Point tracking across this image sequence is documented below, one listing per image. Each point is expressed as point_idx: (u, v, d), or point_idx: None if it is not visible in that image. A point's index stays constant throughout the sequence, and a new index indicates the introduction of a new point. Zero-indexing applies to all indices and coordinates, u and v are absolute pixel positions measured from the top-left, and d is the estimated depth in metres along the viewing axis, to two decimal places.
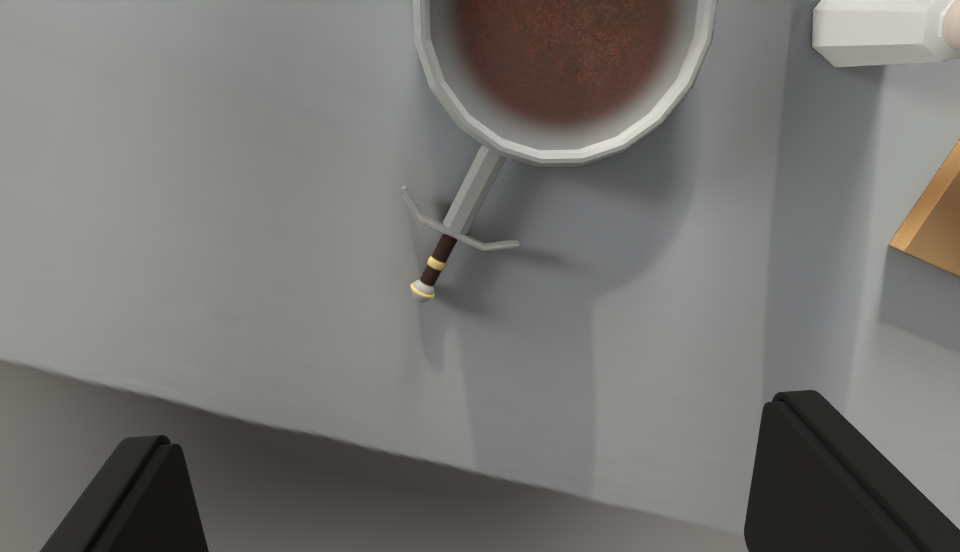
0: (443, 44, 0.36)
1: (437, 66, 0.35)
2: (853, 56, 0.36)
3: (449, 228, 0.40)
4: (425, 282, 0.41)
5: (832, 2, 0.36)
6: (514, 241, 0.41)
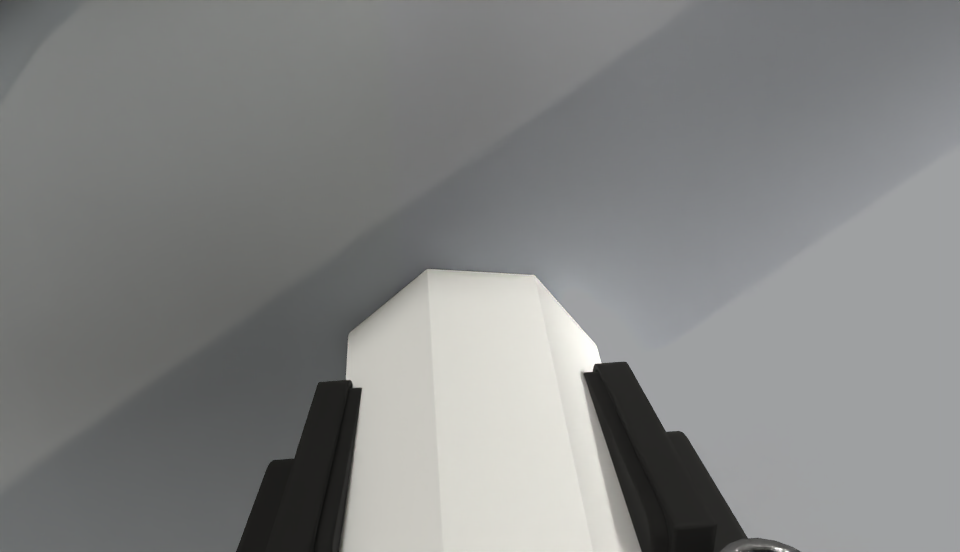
0: None
1: None
2: None
3: None
4: None
5: (456, 301, 0.11)
6: None
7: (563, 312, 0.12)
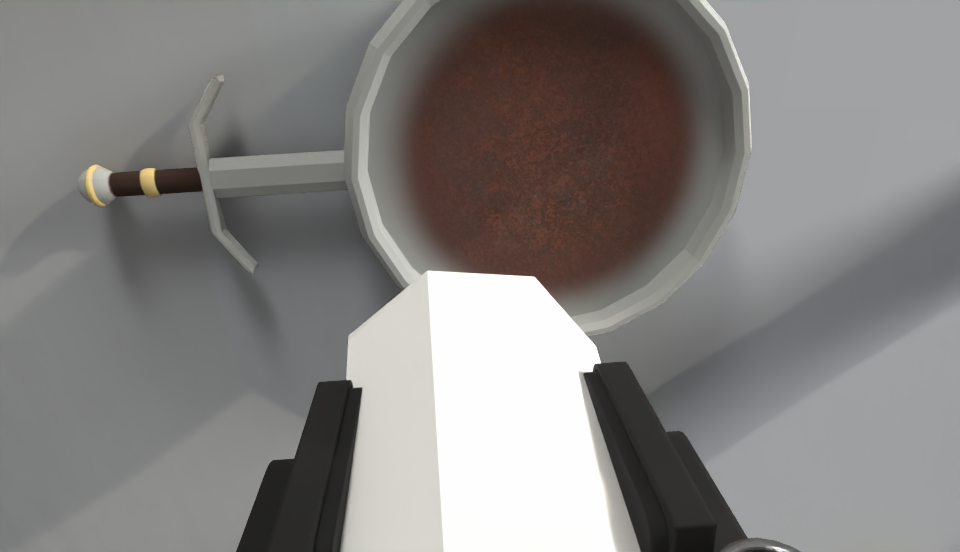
0: (433, 28, 0.25)
1: (404, 35, 0.24)
2: None
3: (209, 172, 0.26)
4: (112, 183, 0.26)
5: (456, 303, 0.11)
6: (253, 263, 0.28)
7: (563, 314, 0.12)
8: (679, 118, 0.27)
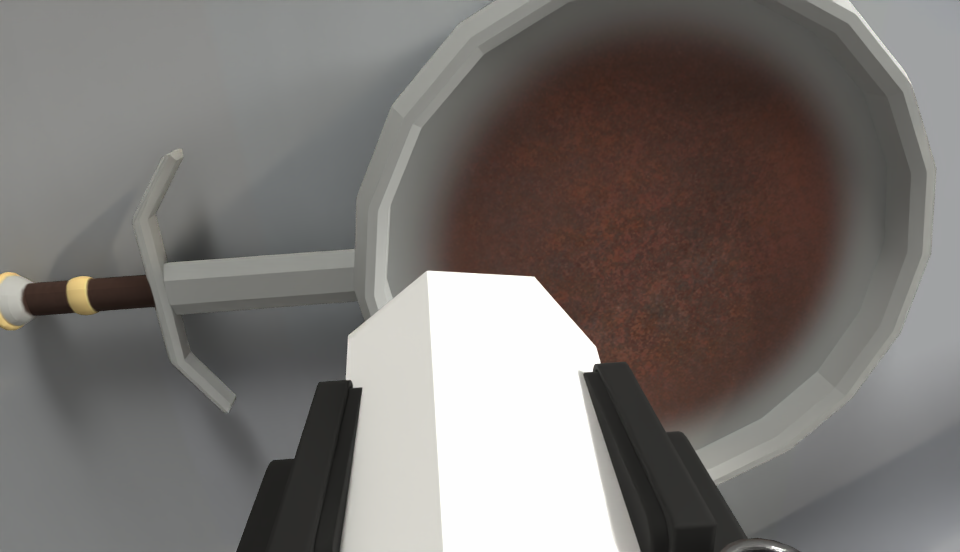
0: (483, 82, 0.17)
1: (443, 97, 0.16)
2: None
3: (165, 282, 0.19)
4: (27, 300, 0.18)
5: (456, 303, 0.11)
6: (229, 397, 0.20)
7: (563, 314, 0.12)
8: (824, 202, 0.19)
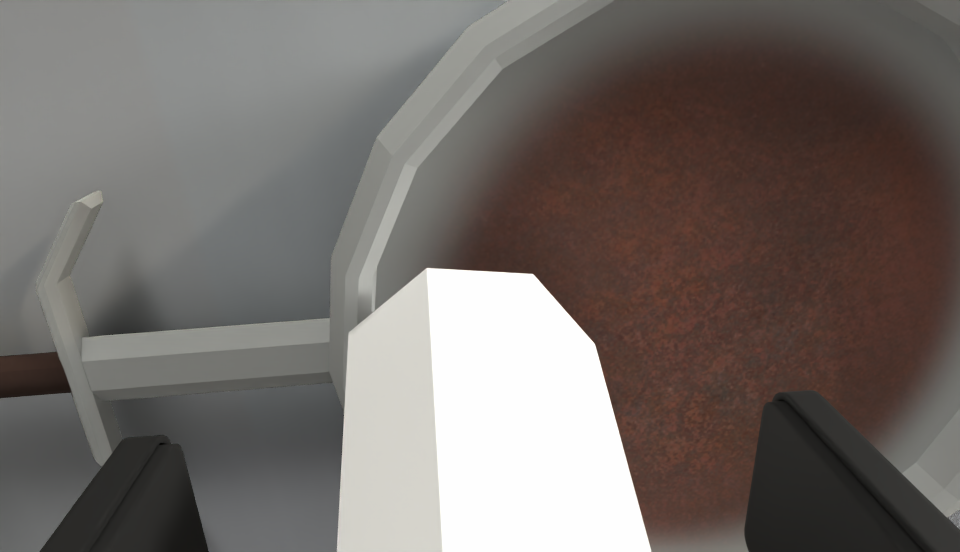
0: (500, 105, 0.13)
1: (447, 127, 0.12)
2: None
3: (83, 363, 0.14)
4: None
5: (455, 299, 0.11)
6: None
7: (562, 311, 0.13)
8: (940, 257, 0.15)
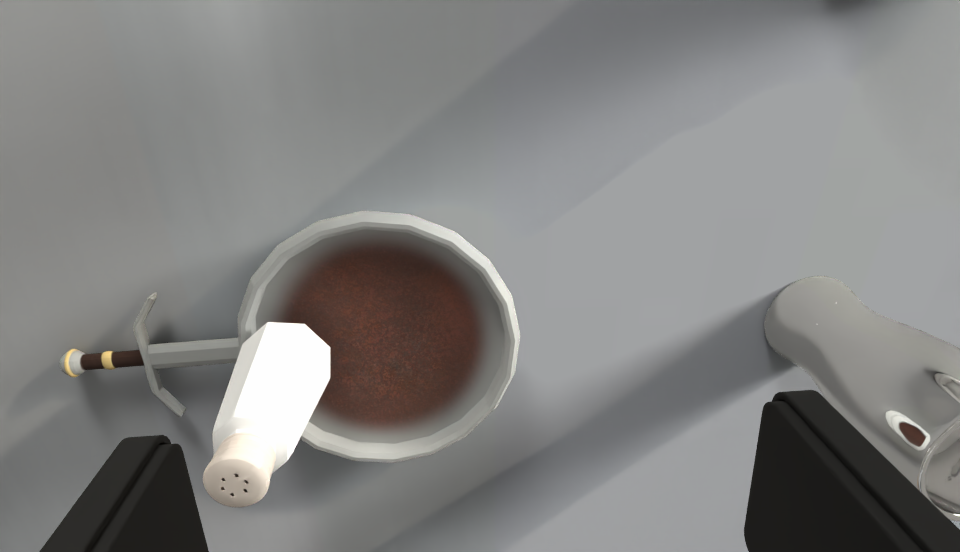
0: (294, 265, 0.37)
1: (271, 277, 0.36)
2: None
3: (148, 354, 0.39)
4: (82, 363, 0.39)
5: (272, 333, 0.36)
6: (182, 409, 0.41)
7: (314, 336, 0.37)
8: (469, 314, 0.39)
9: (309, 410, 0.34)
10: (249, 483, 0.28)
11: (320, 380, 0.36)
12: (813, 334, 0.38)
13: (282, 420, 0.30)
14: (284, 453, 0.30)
